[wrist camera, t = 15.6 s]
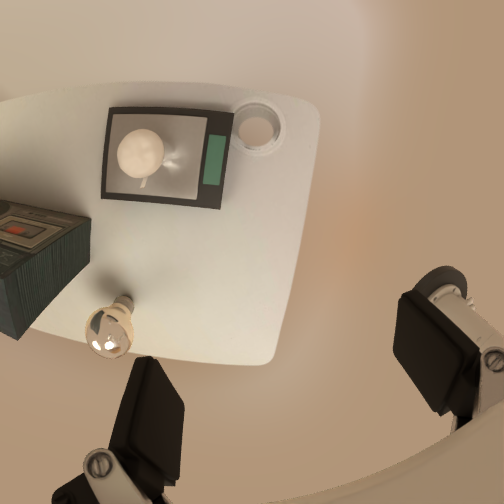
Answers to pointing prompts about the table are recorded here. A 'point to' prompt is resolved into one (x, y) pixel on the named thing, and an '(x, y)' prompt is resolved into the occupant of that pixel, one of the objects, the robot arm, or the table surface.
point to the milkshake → (143, 154)
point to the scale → (183, 159)
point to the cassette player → (37, 260)
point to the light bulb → (111, 329)
